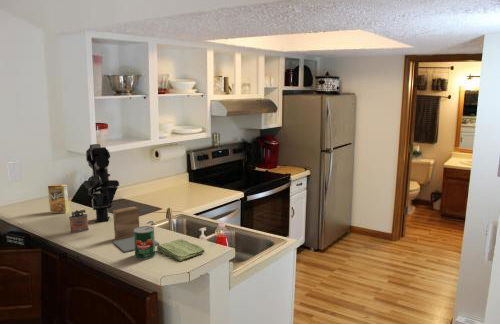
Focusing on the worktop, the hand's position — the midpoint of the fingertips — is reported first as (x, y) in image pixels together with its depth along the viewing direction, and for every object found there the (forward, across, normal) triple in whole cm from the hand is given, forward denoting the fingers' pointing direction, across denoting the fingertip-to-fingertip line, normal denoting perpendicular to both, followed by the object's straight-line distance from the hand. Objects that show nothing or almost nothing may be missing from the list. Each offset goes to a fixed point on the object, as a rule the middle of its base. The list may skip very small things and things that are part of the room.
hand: (105, 205), depth 201 cm
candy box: (-6, -49, +1) cm, 50 cm away
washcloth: (+28, +41, +7) cm, 50 cm away
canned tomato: (+27, +33, -4) cm, 43 cm away
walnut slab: (+17, +11, +3) cm, 20 cm away
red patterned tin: (+9, -13, -7) cm, 18 cm away
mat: (+20, +20, +1) cm, 29 cm away
